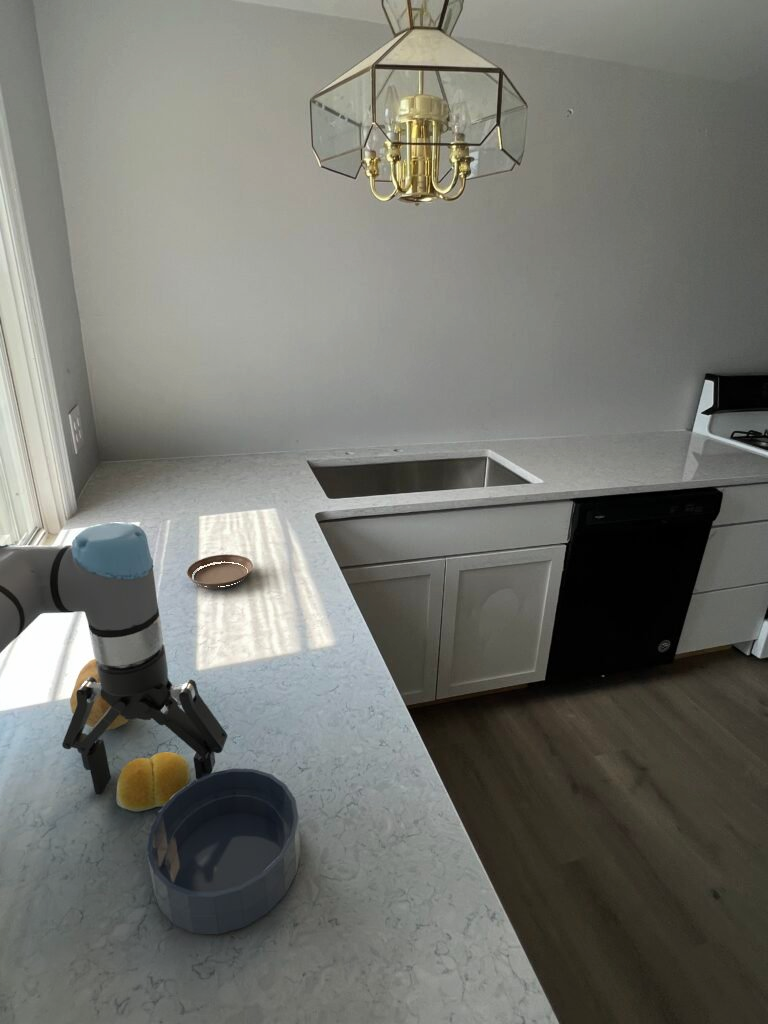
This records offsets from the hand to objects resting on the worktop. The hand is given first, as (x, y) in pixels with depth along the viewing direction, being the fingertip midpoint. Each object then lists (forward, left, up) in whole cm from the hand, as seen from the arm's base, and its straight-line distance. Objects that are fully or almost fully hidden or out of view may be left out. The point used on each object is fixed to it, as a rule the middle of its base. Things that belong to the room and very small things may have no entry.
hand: (154, 787), depth 73 cm
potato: (-12, +13, 0) cm, 18 cm away
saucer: (-9, +60, 0) cm, 61 cm away
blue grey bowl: (+13, -10, 0) cm, 16 cm away
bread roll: (0, 0, 0) cm, 0 cm away
